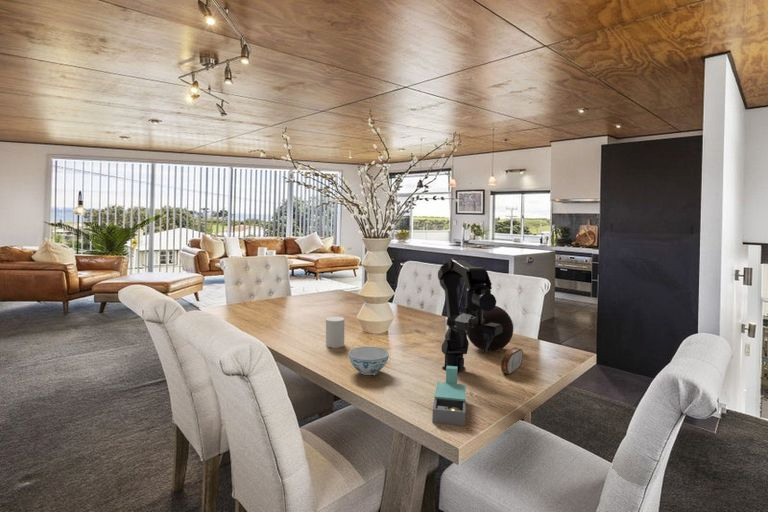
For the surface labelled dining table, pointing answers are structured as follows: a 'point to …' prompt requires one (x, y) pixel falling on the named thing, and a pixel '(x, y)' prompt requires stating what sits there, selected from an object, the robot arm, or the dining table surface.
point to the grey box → (449, 412)
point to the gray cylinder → (335, 332)
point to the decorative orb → (499, 340)
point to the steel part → (442, 407)
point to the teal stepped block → (451, 387)
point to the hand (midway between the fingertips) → (472, 349)
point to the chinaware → (368, 359)
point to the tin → (511, 360)
